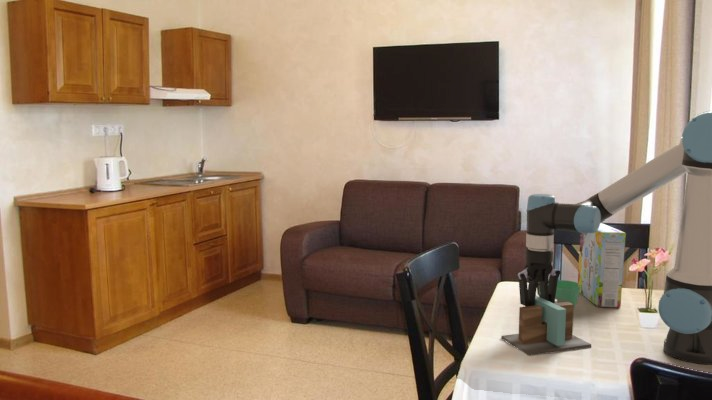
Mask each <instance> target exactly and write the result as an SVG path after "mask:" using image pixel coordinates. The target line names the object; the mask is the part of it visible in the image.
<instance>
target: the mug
mask: <svg viewBox="0 0 712 400" xmlns="http://www.w3.org/2000/svg"><path fill="white" fill-rule="evenodd" d="M580 288H581V285H580V284H579V286H578V282H577V281H571V280H565V279H564V280H563V279H562V280H561V279H559V280H558V282H557V289H556V296H555V299H557V303H562V302H570V303H572V304H574V309H573V311H574V310H575V308H576V305H577V302H578V298H579V295H580V293H579V292H580ZM536 295H537V296H539V297H540V285H539V283H538V285H537V290H536Z"/></svg>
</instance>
